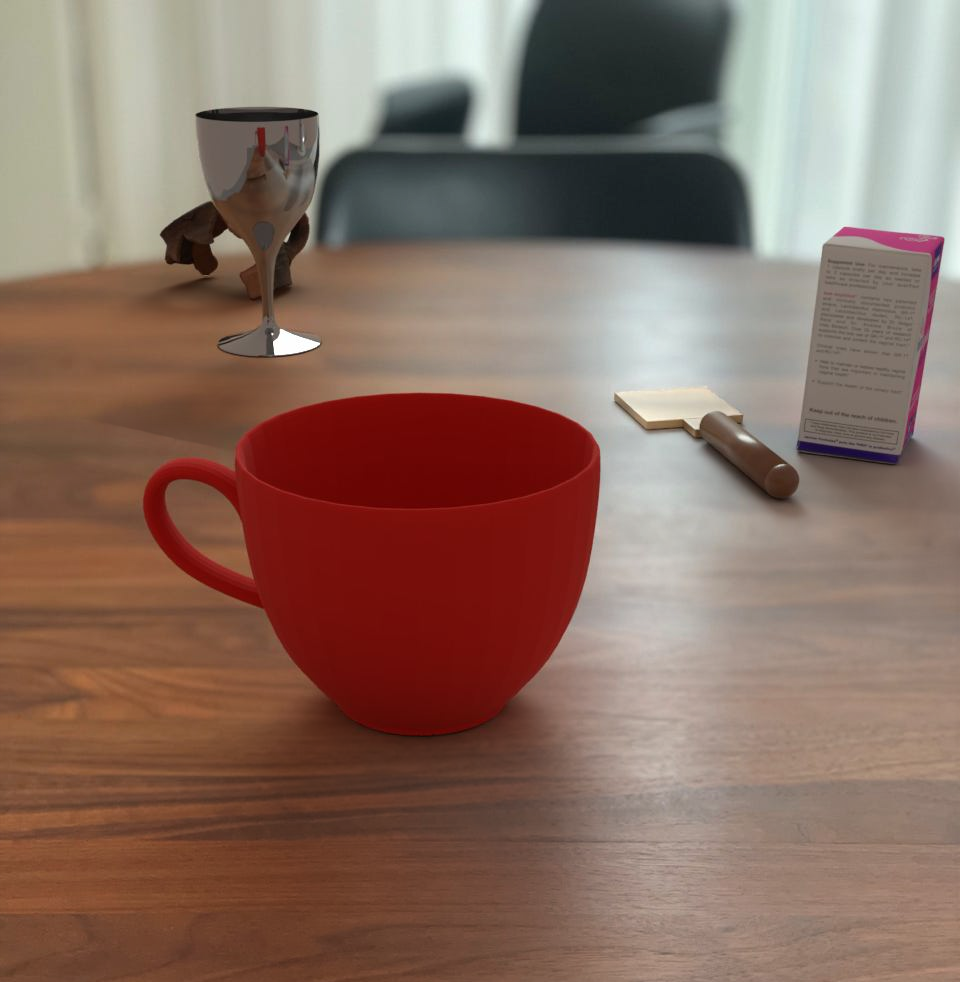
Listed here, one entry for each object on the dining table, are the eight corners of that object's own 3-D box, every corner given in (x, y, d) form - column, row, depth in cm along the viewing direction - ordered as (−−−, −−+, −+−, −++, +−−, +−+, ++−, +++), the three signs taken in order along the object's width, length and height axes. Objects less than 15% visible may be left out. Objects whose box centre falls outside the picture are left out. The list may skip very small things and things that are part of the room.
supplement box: (902, 466, 81) (931, 252, 76) (793, 452, 83) (815, 242, 78) (918, 435, 86) (946, 232, 81) (815, 422, 88) (836, 223, 83)
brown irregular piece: (227, 314, 112) (171, 213, 111) (186, 344, 121) (133, 250, 119) (351, 252, 118) (299, 155, 116) (303, 284, 126) (254, 194, 124)
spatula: (613, 400, 92) (614, 371, 91) (705, 393, 93) (707, 365, 92) (731, 508, 75) (734, 474, 75) (841, 498, 77) (845, 465, 76)
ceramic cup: (216, 604, 65) (198, 378, 60) (607, 634, 62) (617, 401, 58) (97, 754, 53) (63, 488, 49) (570, 799, 51) (580, 523, 46)
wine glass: (279, 364, 99) (266, 125, 92) (187, 346, 102) (168, 115, 96) (350, 338, 105) (343, 112, 98) (261, 322, 108) (248, 104, 102)
